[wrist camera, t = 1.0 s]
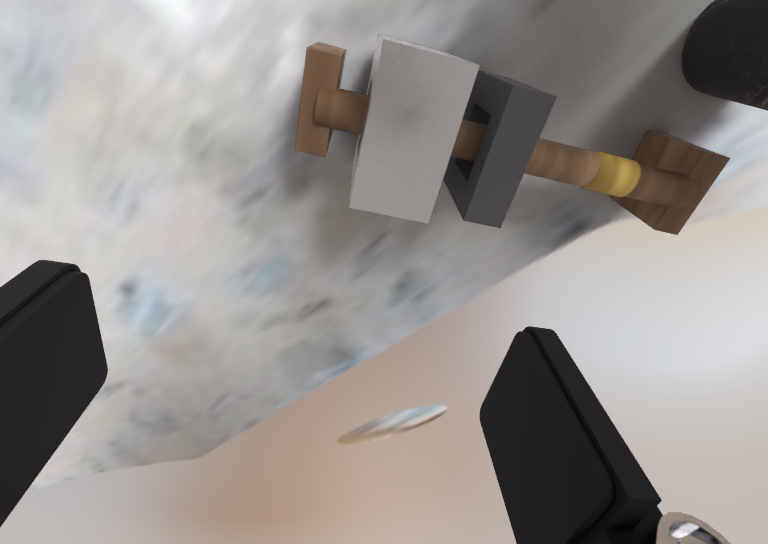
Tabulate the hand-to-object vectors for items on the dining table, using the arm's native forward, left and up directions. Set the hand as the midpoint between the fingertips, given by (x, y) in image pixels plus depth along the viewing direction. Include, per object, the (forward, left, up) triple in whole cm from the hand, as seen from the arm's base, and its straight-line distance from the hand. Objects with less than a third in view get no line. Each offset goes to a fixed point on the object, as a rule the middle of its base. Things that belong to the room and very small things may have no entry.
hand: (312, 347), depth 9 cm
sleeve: (-1, +3, -25) cm, 25 cm away
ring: (-1, +9, -24) cm, 26 cm away
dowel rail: (-1, +11, -26) cm, 28 cm away
